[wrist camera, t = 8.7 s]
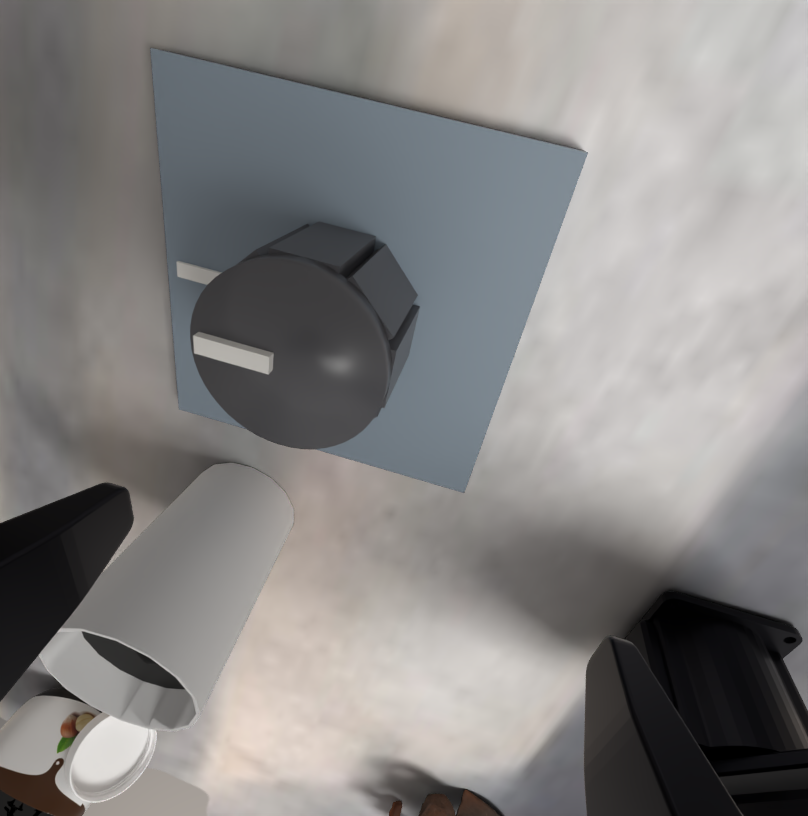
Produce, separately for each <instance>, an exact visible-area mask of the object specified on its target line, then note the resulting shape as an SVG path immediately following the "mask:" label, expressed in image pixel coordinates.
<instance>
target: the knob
mask: <svg viewBox="0 0 808 816" xmlns="http://www.w3.org/2000/svg"><path fill="white" fill-rule="evenodd" d="M375 240H376V236H373V235H369V234H365V233H361V232H357V231H354V230H350V229H346V228H342V227H338V226H335V225H331V224H327V223H323V222H317V223H315V224H313V225H311V226H309V224H306V225H304V226H302V227H300V228H298V229H296V230H294V231H292V232H290V233H288V234H286V235H284V236H282V237H280V238H278V239H276V240H274V241H272V242H270V243H268V244H266V245H264V246H262V247H260V248H258V249H256V250H255V251H253V252H252V253H251V254H249V255H248V256H247V257H245V258H244V259H243V260H242V261H240V262H239V263H238V264H236V265H235V266H233V267H231V268H229V269H227V270H226V271H224V272H222V273H221V274H219V275H218V276H216V277H215V278H214V279H213V280H212V281H211V282H210V283H209V284H208V285H207V286H206V287H205V289H204V290H203V291H202V293H201V294H200V296H199V298H198V300H197V302H196V304H195V307H194V310H193V313H192V318H191V324H190V342H191V350H192V354H193V358H194V362H195V364H196V367H197V370H198V372H199V375H200V377H201V379H202V381H203V383H204V384H205V386H206V388H207V389H208V391H209V392H210V394H211V395H212V397H213V398H214V399H215V400H216V402H217V403H218V404H219V405H220V406H221V407H222V408H223V410H224V411H225V412H226V413H227V414H228V415H230V416H231V417H232V418H233V419H234V420H235V421H236V422H238V423H239V424H240V425H242V426H243V427H245V428H246V429H247V430H249V431H251V432H253V433H254V434H256V435H258V436H260V437H262V438H264V439H266V440H268V441H271V442H274V443H277V444H280V445H284V446H288V447H292V448H300V449H321V448H328V447H332V446H336V445H339V444H341V443H344V442H346V441H348V440H350V439H352V438H354V437H355V436H357V435H358V434H359V433H360V432H362V431H363V430H364V429H365V428H366V427H367V426H368V425H369V424H370V423H371V421H372V420H373V419H374V418H376V417H378V415H379V413H380V410H381V408H385V406H386V404H387V402H388V399H389V397H390V395H391V393H392V391H393V389H394V387H395V384H396V382H397V380H398V378H399V376H400V374H401V372H402V369H403V367H404V365H405V363H406V361H407V359H408V356H409V352H410V348H411V344H412V339H413V335H414V331H415V326H416V322H417V318H418V313H419V309H420V306H416V305H413V303H414V301H415V300H416V298H417V296H418V294H417V293H416V291H415V289H414V288H413V286H412V285H411V283H410V281H409V280H408V278H407V277H406V275H405V273H404V272H403V270H402V269H401V267H400V265H399V264H398V262H397V261H396V259H395V257H394V256H393V254H392V252H391V251H390V249H389V248H388V246H387V244H386V245H384V246H383V247H381V248H379V249H378V250H376V251H375V252H374V246H375Z"/></svg>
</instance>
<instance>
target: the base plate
mask: <svg viewBox="0 0 808 816" xmlns="http://www.w3.org/2000/svg"><path fill="white" fill-rule="evenodd" d="M150 51H151V63H152V76H153V88H154V101H155V114H156V126H157V139H158V151H159V164H160V177H161V189H162V202H163V214H164V227H165V240H166V252H167V265H168V277H169V290H170V303H171V315H172V328H173V341H174V353H175V366H176V378H177V391H178V404H179V409H180V410H183V411H187V412H190V413H194V414H197V415H200V416H204V417H207V418H211V419H214V420H217V421H221V422H224V423H228V424H231V425H234V426H238V427H241V428H245V427H243V426H242V425H240V424H239V423H238V422H236V421H235V420H234V419H233V418H232V417H231V416H230V415H228V414H227V413H226V412H225V411H224V410H223V408H222V407H221V406H220V405H219V404H218V403H217V402H216V400H215V399H214V398H213V397H212V395H211V394H210V392H209V391H208V389H207V388H206V386H205V384H204V383H203V381H202V379H201V377H200V375H199V372H198V370H197V367H196V364H195V362H194V358H193V354H192V350H191V342H190V324H191V318H192V313H193V310H194V307H195V304H196V302H197V300H198V298H199V296H200V294H201V293H202V291H203V290H204V289H205V287H206V286H207V285H208V284H209V283H210V282H211V281H212V280H213V279H214V278H215V277H216V276H218V275H219V274H221V273H222V272H224V271H226V270H227V269H229V268H231V267H233V266H235V265H236V264H238V263H239V262H240V261H242V260H243V259H244V258H245V257H247V256H248V255H249V254H251V253H252V252H253V251H255V250H256V249H258V248H260V247H262V246H264V245H266V244H268V243H270V242H272V241H274V240H276V239H278V238H280V237H282V236H284V235H286V234H288V233H290V232H292V231H294V230H296V229H298V228H300V227H302V226H304V225H306V224H309V226H311V225H313V224H315V223H317V222H323V223H327V224H331V225H335V226H338V227H342V228H346V229H350V230H354V231H357V232H361V233H365V234H369V235H373V236H376V240H375V246H374V252H375V251H376V250H378V249H379V248H381V247H383V246H384V245H386V244H387V246H388V248H389V249H390V251H391V252H392V254H393V256H394V257H395V259H396V261H397V262H398V264H399V265H400V267H401V269H402V270H403V272H404V273H405V275H406V277H407V278H408V280H409V281H410V283H411V285H412V286H413V288H414V289H415V291H416V293H417V294H418V296H417V298H416V300H415V301H414V303H413V305H416V306H420V309H419V313H418V318H417V322H416V326H415V331H414V335H413V339H412V344H411V348H410V352H409V356H408V359H407V361H406V363H405V365H404V367H403V369H402V372H401V374H400V376H399V378H398V380H397V382H396V384H395V387H394V389H393V391H392V393H391V395H390V397H389V399H388V402H387V404H386V406H385V408H381V410H380V413H379V415H378V417H376V418H374V419H373V420H372V421H371V423H370V424H369V425H368V426H367V427H366V428H365V429H364V430H363V431H362V432H360V433H359V434H358V435H357V436H355V437H354V438H352V439H350V440H348V441H346V442H344V443H341V444H339V445H336V446H332V447H328V448H321V449H316V450H320V451H323V452H326V453H330V454H333V455H337V456H340V457H343V458H347V459H350V460H354V461H357V462H360V463H364V464H367V465H371V466H374V467H377V468H381V469H384V470H388V471H391V472H395V473H398V474H401V475H405V476H408V477H412V478H415V479H418V480H422V481H425V482H429V483H432V484H435V485H439V486H442V487H446V488H449V489H452V490H456V491H459V492H463V493H464V492H465V489H466V486H467V484H468V481H469V478H470V475H471V473H472V470H473V467H474V464H475V462H476V459H477V456H478V453H479V451H480V448H481V445H482V442H483V440H484V437H485V434H486V431H487V429H488V426H489V423H490V420H491V418H492V415H493V412H494V409H495V407H496V404H497V401H498V398H499V396H500V393H501V390H502V387H503V385H504V382H505V379H506V376H507V374H508V371H509V368H510V365H511V363H512V360H513V357H514V354H515V352H516V349H517V346H518V343H519V341H520V338H521V335H522V332H523V330H524V327H525V324H526V321H527V319H528V316H529V313H530V310H531V308H532V305H533V302H534V299H535V297H536V294H537V291H538V288H539V286H540V283H541V280H542V277H543V275H544V272H545V269H546V266H547V264H548V261H549V258H550V255H551V253H552V250H553V247H554V244H555V242H556V239H557V236H558V233H559V231H560V228H561V225H562V222H563V220H564V217H565V214H566V211H567V209H568V206H569V203H570V200H571V198H572V195H573V192H574V189H575V187H576V184H577V181H578V179H579V176H580V173H581V170H582V168H583V165H584V162H585V159H586V157H587V154H588V152H586V151H583V150H579V149H574V148H570V147H566V146H562V145H558V144H554V143H549V142H545V141H541V140H537V139H533V138H529V137H524V136H520V135H516V134H512V133H508V132H503V131H499V130H495V129H491V128H487V127H483V126H478V125H474V124H470V123H466V122H462V121H457V120H453V119H449V118H445V117H441V116H437V115H432V114H428V113H424V112H420V111H416V110H411V109H407V108H403V107H399V106H395V105H391V104H386V103H382V102H378V101H374V100H370V99H365V98H361V97H357V96H353V95H349V94H345V93H340V92H336V91H332V90H328V89H324V88H319V87H315V86H311V85H307V84H303V83H299V82H294V81H290V80H286V79H282V78H278V77H273V76H269V75H265V74H261V73H257V72H253V71H248V70H244V69H240V68H236V67H232V66H227V65H223V64H219V63H215V62H211V61H207V60H202V59H198V58H194V57H190V56H186V55H181V54H177V53H173V52H169V51H164V50H159V49H153V48H150ZM245 429H246V428H245Z"/></svg>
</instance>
